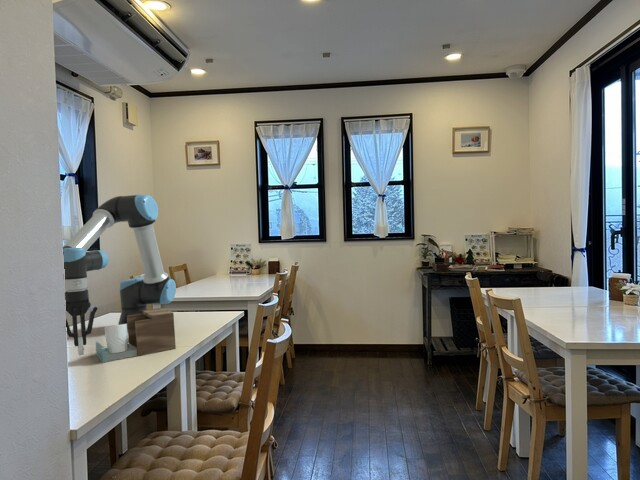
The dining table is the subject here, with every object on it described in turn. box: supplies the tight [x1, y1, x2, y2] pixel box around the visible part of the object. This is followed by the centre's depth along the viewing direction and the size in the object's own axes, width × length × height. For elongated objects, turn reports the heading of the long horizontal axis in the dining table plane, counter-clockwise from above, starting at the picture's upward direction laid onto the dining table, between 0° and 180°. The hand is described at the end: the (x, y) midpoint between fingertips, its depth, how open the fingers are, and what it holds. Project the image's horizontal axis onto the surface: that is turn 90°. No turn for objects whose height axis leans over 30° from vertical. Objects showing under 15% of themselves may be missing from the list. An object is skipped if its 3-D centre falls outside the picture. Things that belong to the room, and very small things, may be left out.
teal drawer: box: [95, 341, 138, 364], centre depth 173 cm, size 14×13×5 cm
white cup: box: [103, 324, 129, 354], centre depth 171 cm, size 8×8×10 cm
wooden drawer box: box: [127, 307, 177, 357], centre depth 179 cm, size 15×14×14 cm
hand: (81, 354), depth 165 cm, fingers closed
